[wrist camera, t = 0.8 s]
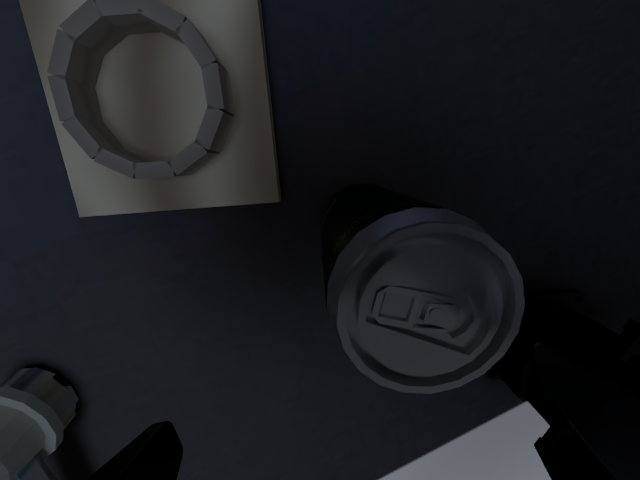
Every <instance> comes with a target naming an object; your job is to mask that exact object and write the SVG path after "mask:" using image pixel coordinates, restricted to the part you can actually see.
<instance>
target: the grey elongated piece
mask: <svg viewBox="0 0 640 480" xmlns="http://www.w3.org/2000/svg"><path fill="white" fill-rule="evenodd" d="M54 375H55V373H52V372H49V371H46V370H43V369H39V368H26V369H19V370H18V371H17V372H16V373H14V374H13V375H12V376H11V377H10V378H9V379H7V380H6V381H5V382H4V383H3V384H2V385H0V480H57V479H56V478H55V476H54V475H53V474H52V472H51V471H50V470H49V468H48V467H47V465H46V464H45V463H44V461H43V459H45V458H46V457H47V456H49V455H50V454H51V453H52V452H54V451H55V450H56V449H57V447H58V446H59V445H60V444H61V442H62V441H63V432H64V429H65V428H66V427H67V425H68V424H69V423H70V422H71V420H72V419H73V418H74V417H75V415H76V413H75V408H76V403H77V402H78V400H79V399H78V397H77V395H76V393H75V392H74V390H73V388H72V387H71V386H62V385H61V384H60V383H58V382H57V381H56V380H54V379H53V378H54Z"/></svg>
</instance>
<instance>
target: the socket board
mask: <svg viewBox="0 0 640 480" xmlns="http://www.w3.org/2000/svg"><path fill="white" fill-rule="evenodd" d="M19 3H20V6H21V10H22V13H23V17H24V20H25V24H26V28H27V31H28V35H29V38H30V42H31V45H32V49H33V53H34V56H35V60H36V63H37V67H38V70H39V74H40V77H41V81H42V85H43V88H44V92H45V95H46V99H47V102H48V106H49V110H50V113H51V117H52V120H53V124H54V127H55V131H56V134H57V138H58V142H59V145H60V149H61V152H62V156H63V159H64V163H65V167H66V170H67V174H68V177H69V181H70V184H71V188H72V191H73V195H74V199H75V202H76V206H77V209H78V213H79V216H80V217H88V216H101V215H114V214H127V213H141V212H154V211H167V210H180V209H194V208H207V207H220V206H234V205H247V204H260V203H273V202H280V201H281V191H280V181H279V172H278V162H277V153H276V143H275V134H274V124H273V115H272V105H271V96H270V86H269V77H268V67H267V58H266V49H265V39H264V30H263V20H262V11H261V1H260V0H19Z"/></svg>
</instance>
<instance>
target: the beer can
mask: <svg viewBox="0 0 640 480" xmlns="http://www.w3.org/2000/svg"><path fill="white" fill-rule="evenodd" d="M320 236H321V248H322V260H323V272H324V284H325V296H326V308H327V311H328V315H329V318H330V322H331V325H332V328H333V332H334V334H335V335H336V336H337V338H338V339H339V340H340V342H341V343H342V345H343V348H344V351H345V352H346V353H347V355H348V356H349V358H350V359H351V360H352V362H353V363H354V364H355V366H356V367H357V369H358V370H359V371H360V372H362V373H363V374H365V375H366V376H368V377H369V378H370V379H372V380H373V381H375V382H376V383H378V384H379V385H381V386H384V387H388V388H391V389H394V390H397V391H400V392H403V393H425V394H433V393H437V392H441V391H445V390H450V389H454V388H458V387H460V386H462V385H464V384H466V383H468V382H470V381H472V380H474V379H476V378H477V377H479V376H481V375H483V374H484V373H486V372H487V371H488V370H489V369H490V368H491V367H492V366H493V365H494V364H495V363H496V362H497V361H498V360H500V359H501V358H502V357H503V356H504V355H505V353H506V352H507V350H508V348H509V347H510V345H511V343H512V342H513V340H514V338H515V337H516V335H517V333H518V332H519V328H520V324H521V320H522V316H523V312H524V307H525V299H524V290H523V280H522V277H521V275H520V273H519V271H518V269H517V267H516V265H515V263H514V261H513V259H512V257H511V255H510V254H509V253H508V252H507V251H506V250H505V249H504V248H503V247H501V246H500V245H499V244H498V243H497V242H496V241H495V240H494V238H493V237H492V236H491V235H490V234H488V233H487V232H486V231H485V230H484V229H483V228H482V227H481V226H479V225H478V224H477V223H476V222H475V221H474V220H473V219H470V218H468V217H465V216H462V215H460V214H457V213H455V212H452V211H450V210H447V209H445V208H442V207H439V206H436V205H433V204H430V203H427V202H424V201H421V200H418V199H415V198H412V197H409V196H406V195H403V194H400V193H397V192H394V191H391V190H388V189H385V188H382V187H379V186H376V185H373V184H357V185H353V186H349V187H346V188H344V189H343V190H341V191H340V192H338V193H337V194H335V195H334V196H333V197H332V199H331V200H330V201H329V202H328V203H327V205H326V206H325V209H324V211H323V214H322V217H321V224H320Z"/></svg>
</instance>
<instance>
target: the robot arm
mask: <svg viewBox="0 0 640 480" xmlns="http://www.w3.org/2000/svg"><path fill="white" fill-rule="evenodd" d="M576 297H577V299H576ZM524 299H525V307H524V312H523V316H522V320H521V324H520V328H519V332H518V333H517V335H516V337H515V338H514V340H513V342H512V343H511V345H510V347H509V348H508V350H507V352H506V353H505V355H504V356H503V357H502V358H501V359H500V360H498V361H497V362H496V363H495V364H494V365H493V366H492V367H491V368H490V369H489V370H488V371H487V372H486V373H485V374H486V375H487V376H488V378H490V379H499V378H502V380H503V381H504V382H505V383H506V384H507V385H508V386H509V388H510V389H511V390H512V391H513V392H514V393H515V394H516V396H517V397H518V398H519V399H521V400H522V401H528V402H529V403H530V404H531V405H532V406H533V407H534V408H535V410H536V411H537V412H538V413H539V414H540V415H541V416H542V417H543V418H544V419H545V421H546V422H547V423H548V424H549V425H550V428H549V429H548V430H547V432H546V433H545V434H544V436H543V437H542V438H541V437H539V439H538V440H537V441H536V442H535V444H534V446H535V448H536V450H537V452H538V454H539V456H540V458H541V460H542V462H543V464H544V466H545V468H546V470H547V472H548V473H549V475H550V477H551V479H552V480H640V323H639V322H637V321H634V320H632V319H629V320H628V321H627V323H626V324H625V325H624V328H625V329H624V331H623V332H622V333H621V335H618V334H617V333H615V332H613V331H611V330H609V329H608V328H606V327H604V326H602V325H600V324H599V323H597V322H595V321H593V320H592V319H590V318H588V317H586V316H584V311H585V305H586V299H587V298H586V294H584V293H583V292H581V291H579V290H568V291H555V292H541V293H528V294H524ZM491 371H492V372H491ZM182 456H183V447H182V444H181V442H180V439H179V437H178V435H177V433H176V431H175V428H174V426H173V424H172V423H171V422H170V421H164V422H160V423H155V424H153V425H151V426H150V427H148V428H147V429H146V430H145V431H144V432H142V433H141V434H140V435H139V436H138V437H137V438H135V439H134V440H133V441H132V442H131V443H129V444H128V445H127V446H126V447H125V448H124V449H122V450H121V451H120V452H119V453H118V454H116V455H115V456H114V457H113V458H112V459H111V460H109V461H108V462H107V463H106V464H105V465H103V466H102V467H101V468H100V469H99V470H97V471H96V472H95V473H94V474H93V475H92V476H90V477H89V478H88V479H87V480H176V479H177V475H178V472H179V468H180V464H181V460H182Z"/></svg>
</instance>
